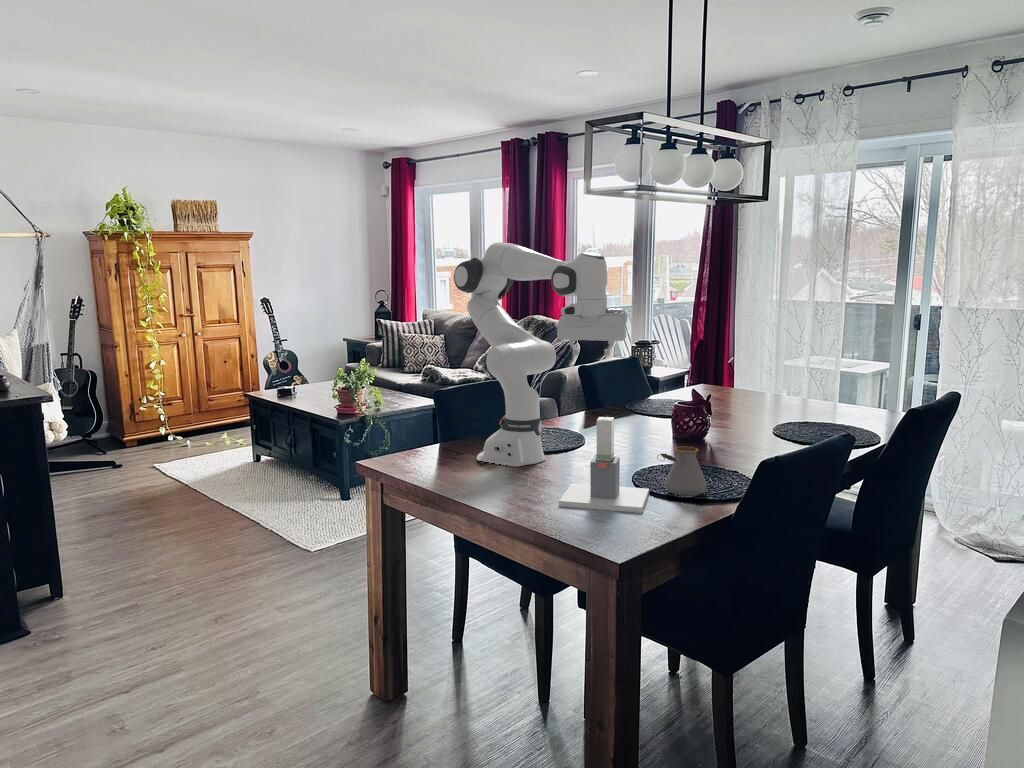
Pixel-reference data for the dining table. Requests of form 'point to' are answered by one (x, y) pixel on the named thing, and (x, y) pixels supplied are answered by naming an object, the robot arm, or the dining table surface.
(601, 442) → the column
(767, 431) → the dining table surface
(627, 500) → the stand
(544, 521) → the dining table surface
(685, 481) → the coffee pot
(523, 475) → the dining table surface
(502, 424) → the robot arm
